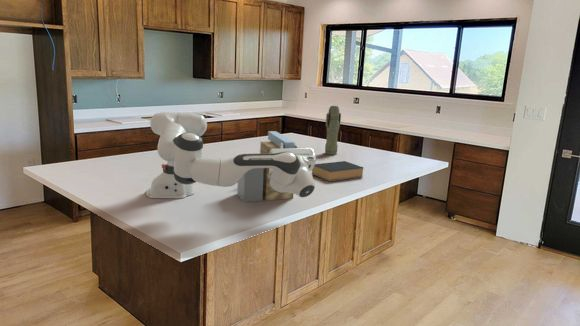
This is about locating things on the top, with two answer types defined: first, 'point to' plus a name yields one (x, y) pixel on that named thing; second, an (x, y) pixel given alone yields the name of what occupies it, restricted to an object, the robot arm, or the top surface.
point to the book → (337, 171)
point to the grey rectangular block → (251, 185)
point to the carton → (267, 190)
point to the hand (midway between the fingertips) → (287, 144)
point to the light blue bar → (280, 139)
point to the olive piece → (332, 130)
